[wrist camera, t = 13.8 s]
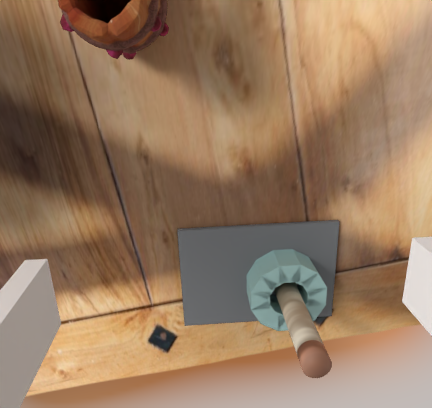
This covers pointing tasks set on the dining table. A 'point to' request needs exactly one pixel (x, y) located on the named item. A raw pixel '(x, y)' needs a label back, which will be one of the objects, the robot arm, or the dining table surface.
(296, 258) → the bead
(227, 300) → the mat
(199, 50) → the dining table surface
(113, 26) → the wooden banded keg
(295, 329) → the dowel
